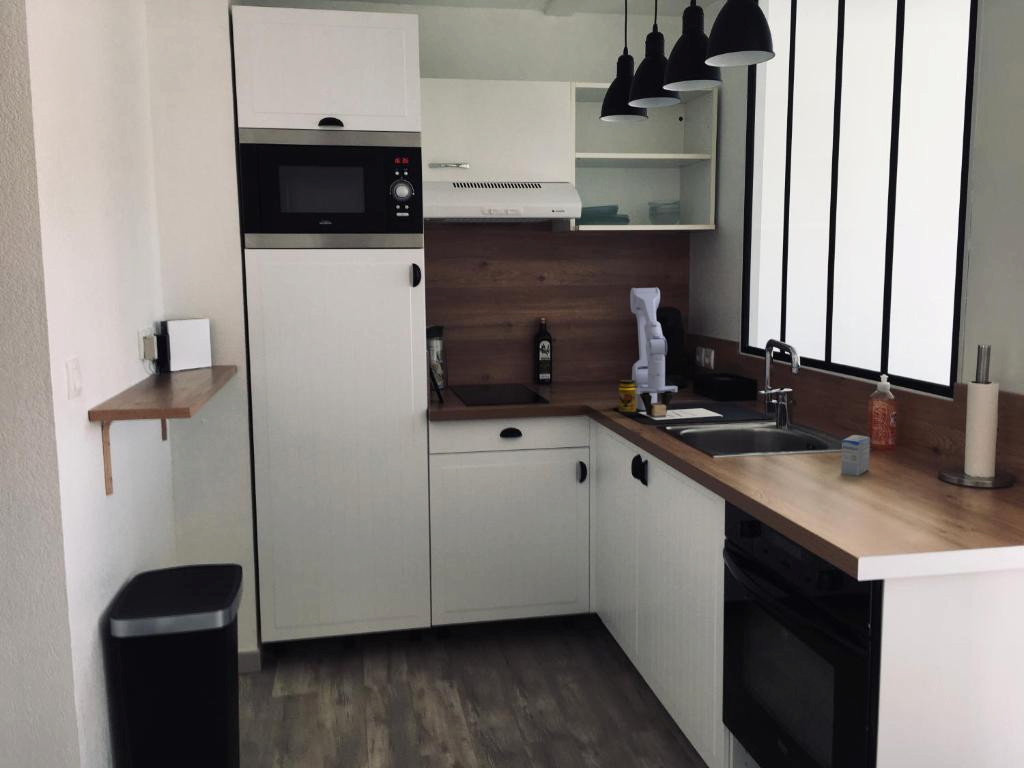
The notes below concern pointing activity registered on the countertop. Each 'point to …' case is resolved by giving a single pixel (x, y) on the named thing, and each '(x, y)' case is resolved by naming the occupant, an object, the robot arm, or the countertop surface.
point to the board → (685, 414)
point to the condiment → (627, 396)
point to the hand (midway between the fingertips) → (656, 414)
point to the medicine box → (855, 455)
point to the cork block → (658, 410)
